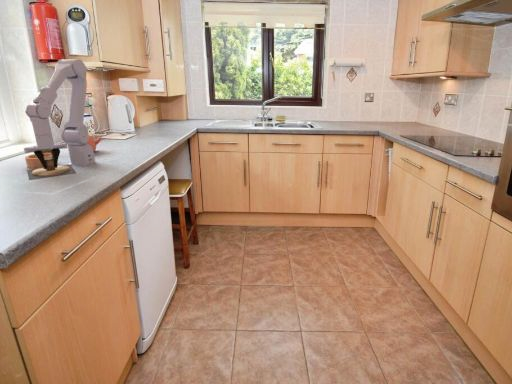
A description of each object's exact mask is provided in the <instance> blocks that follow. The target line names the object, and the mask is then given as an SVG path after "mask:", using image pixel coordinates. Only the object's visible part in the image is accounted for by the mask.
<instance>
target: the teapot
mask: <svg viewBox="0 0 512 384" xmlns="http://www.w3.org/2000/svg"><path fill="white" fill-rule="evenodd" d="M88 134H89V133H88ZM102 140H103V137H101V136H99V137H98V138H97V139H96V140H95V137H94V134H92V133H90V134H89V140H88V142H87V145H90V146H92V148H93V151H94V152H95V151H96V149H97V146H98V144H99V143H100V142H102Z"/></svg>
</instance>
